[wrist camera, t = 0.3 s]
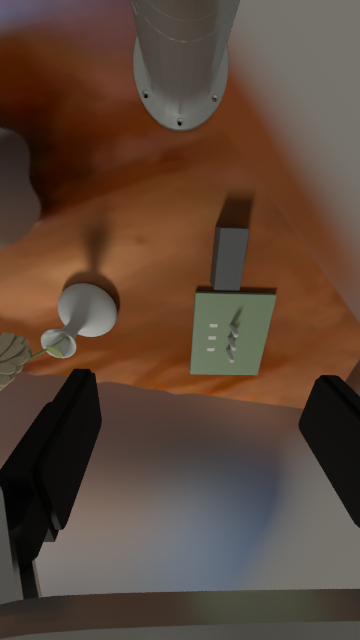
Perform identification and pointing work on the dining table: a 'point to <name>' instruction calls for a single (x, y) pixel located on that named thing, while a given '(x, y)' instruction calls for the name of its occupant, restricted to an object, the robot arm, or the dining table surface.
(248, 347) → the board
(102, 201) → the dining table surface
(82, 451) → the robot arm
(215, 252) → the plug housing
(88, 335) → the flower in vase
